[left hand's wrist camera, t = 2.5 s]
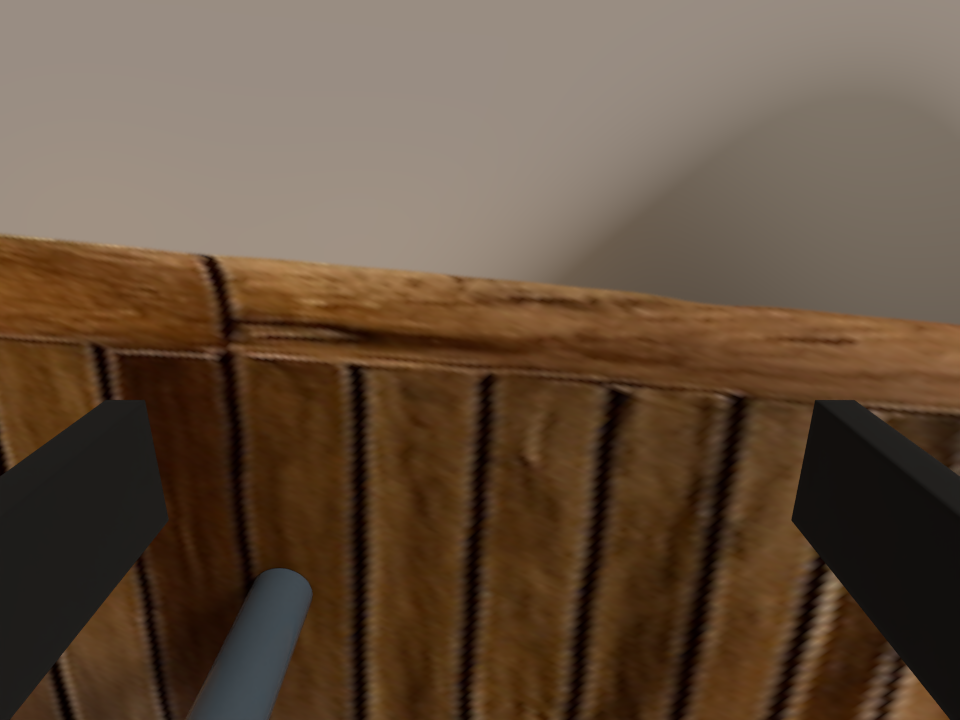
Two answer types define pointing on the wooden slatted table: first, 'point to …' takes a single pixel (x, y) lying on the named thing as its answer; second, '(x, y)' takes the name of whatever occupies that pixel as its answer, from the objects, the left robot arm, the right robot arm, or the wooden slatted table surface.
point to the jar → (256, 650)
